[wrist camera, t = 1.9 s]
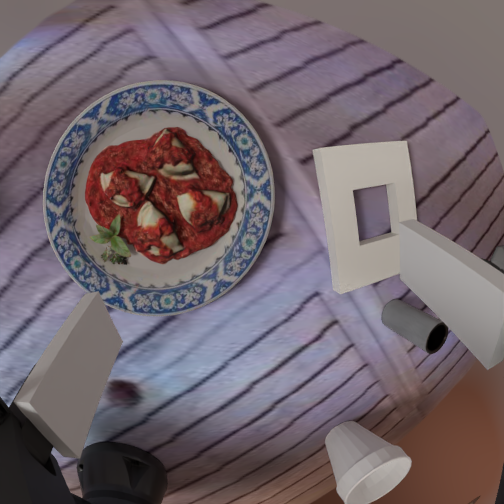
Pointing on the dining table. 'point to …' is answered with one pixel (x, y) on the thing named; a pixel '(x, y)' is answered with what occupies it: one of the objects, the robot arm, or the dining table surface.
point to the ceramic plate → (159, 198)
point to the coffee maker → (498, 257)
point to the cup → (364, 463)
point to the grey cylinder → (415, 325)
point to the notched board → (344, 215)
